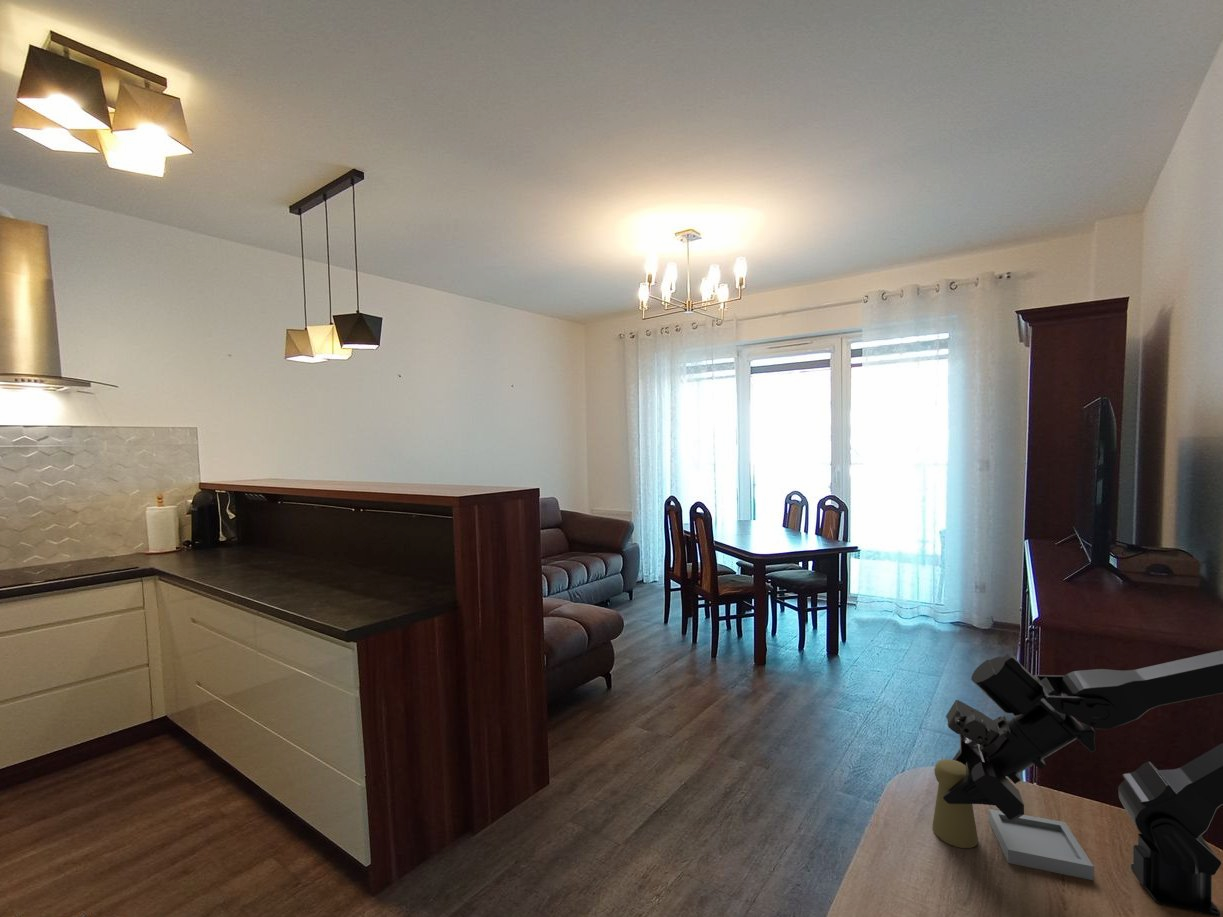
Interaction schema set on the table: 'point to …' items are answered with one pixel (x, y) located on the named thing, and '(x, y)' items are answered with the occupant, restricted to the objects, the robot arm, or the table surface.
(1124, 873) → the table surface
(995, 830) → the gray tray
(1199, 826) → the robot arm
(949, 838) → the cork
